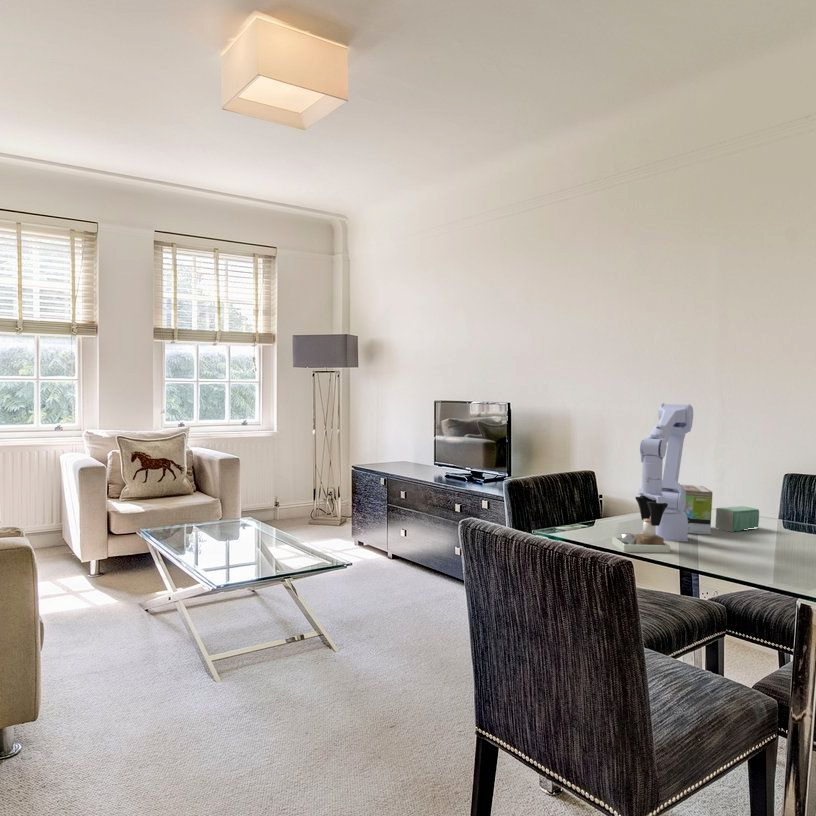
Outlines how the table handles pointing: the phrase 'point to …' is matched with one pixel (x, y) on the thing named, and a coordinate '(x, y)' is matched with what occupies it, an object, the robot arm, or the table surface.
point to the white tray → (640, 547)
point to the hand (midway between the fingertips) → (650, 522)
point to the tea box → (698, 509)
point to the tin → (628, 538)
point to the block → (649, 540)
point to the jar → (648, 528)
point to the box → (736, 518)
